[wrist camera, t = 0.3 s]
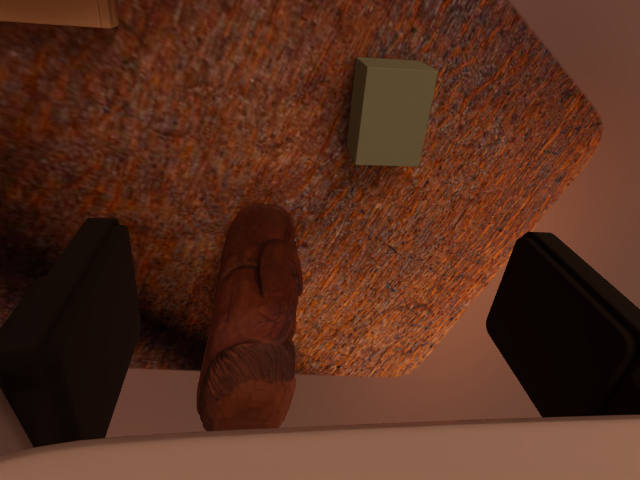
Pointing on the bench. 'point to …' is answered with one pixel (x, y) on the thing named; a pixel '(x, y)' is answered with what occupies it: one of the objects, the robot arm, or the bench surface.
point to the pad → (389, 111)
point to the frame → (61, 12)
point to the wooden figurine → (252, 325)
